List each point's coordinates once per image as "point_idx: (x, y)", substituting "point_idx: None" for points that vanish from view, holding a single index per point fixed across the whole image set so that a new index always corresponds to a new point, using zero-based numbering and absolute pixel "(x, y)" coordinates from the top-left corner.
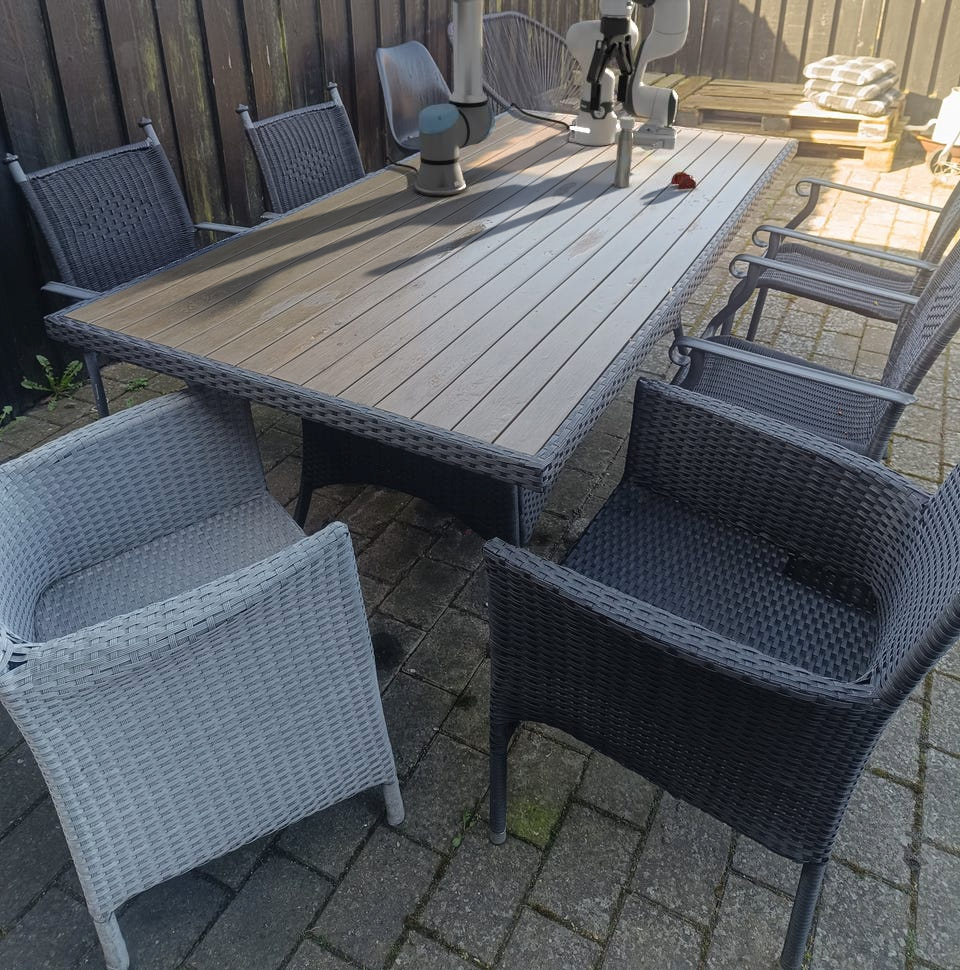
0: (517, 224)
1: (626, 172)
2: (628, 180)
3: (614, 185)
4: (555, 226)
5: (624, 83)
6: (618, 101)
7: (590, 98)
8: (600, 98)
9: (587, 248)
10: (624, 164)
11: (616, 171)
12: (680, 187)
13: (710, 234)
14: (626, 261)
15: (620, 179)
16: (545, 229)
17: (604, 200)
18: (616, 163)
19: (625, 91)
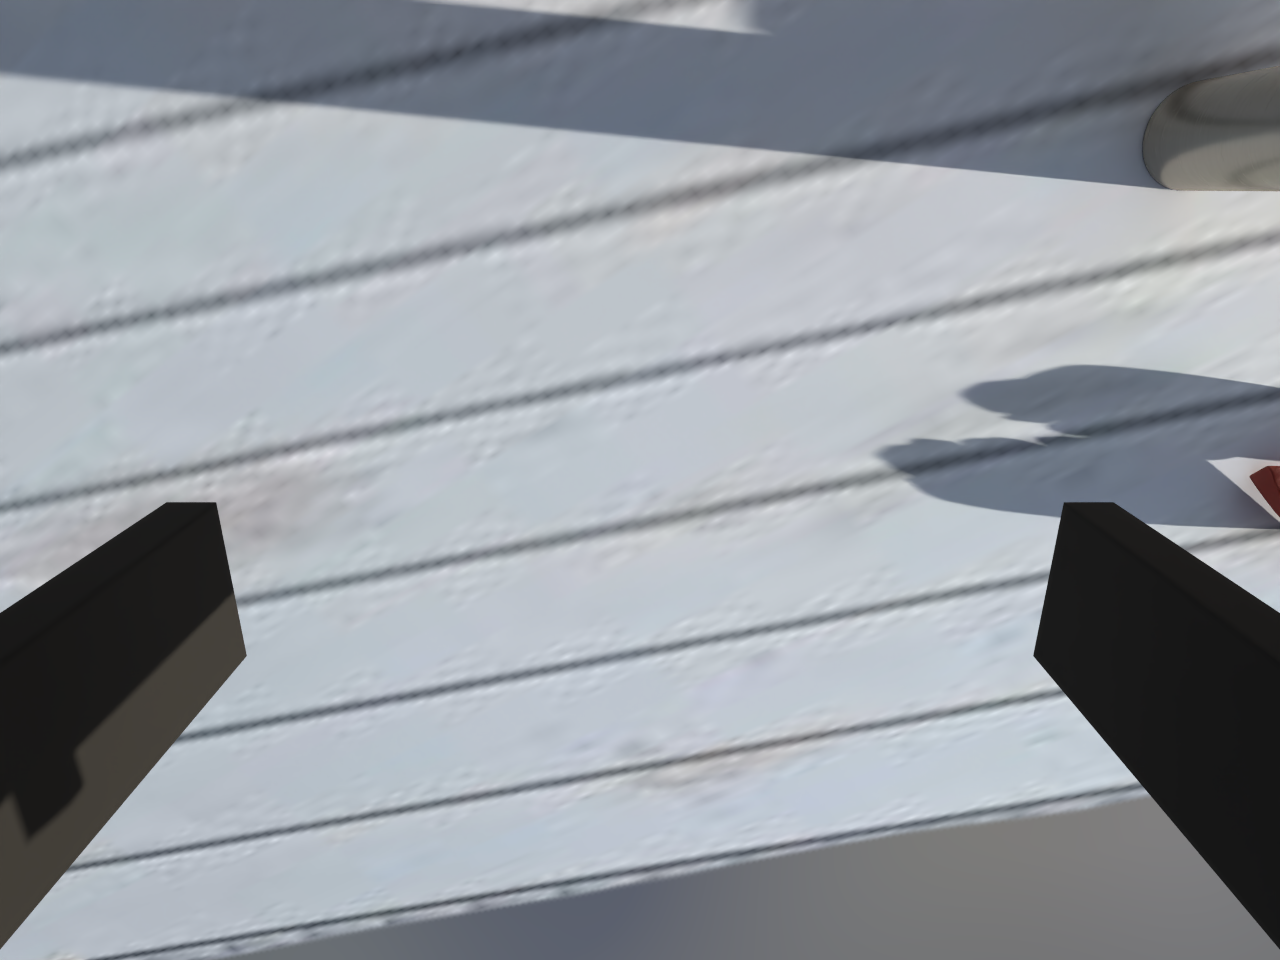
0: (84, 53)
1: (1228, 183)
2: (1211, 190)
3: (1161, 104)
4: (239, 267)
5: (1255, 840)
6: (1057, 538)
7: (37, 588)
8: (120, 787)
9: None
10: (1257, 167)
11: (1220, 104)
12: (1258, 488)
13: (663, 852)
14: None
15: (1175, 153)
16: (158, 252)
17: (831, 227)
18: (1271, 87)
19: (1132, 760)
